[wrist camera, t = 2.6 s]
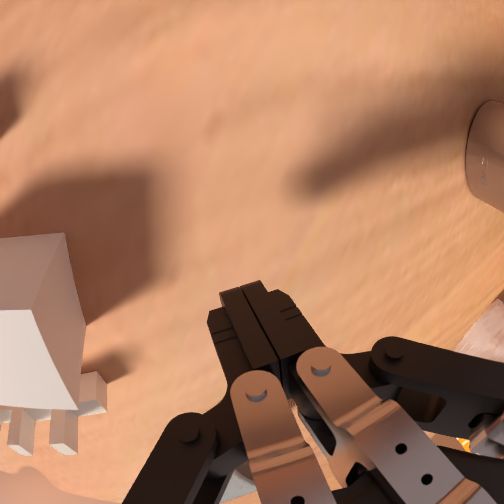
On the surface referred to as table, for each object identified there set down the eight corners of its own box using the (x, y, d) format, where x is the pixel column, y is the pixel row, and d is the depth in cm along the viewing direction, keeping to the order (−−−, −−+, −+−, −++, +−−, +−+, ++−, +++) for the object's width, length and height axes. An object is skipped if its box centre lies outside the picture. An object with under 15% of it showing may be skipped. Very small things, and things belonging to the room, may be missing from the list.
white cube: (-26, 239, 11) (-78, 308, 6) (65, 230, 13) (30, 308, 8) (5, 326, 14) (-20, 403, 9) (86, 325, 16) (78, 410, 11)
